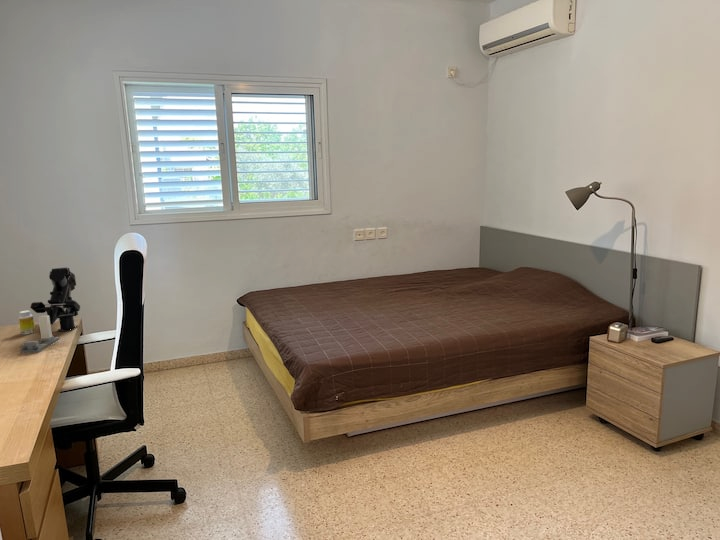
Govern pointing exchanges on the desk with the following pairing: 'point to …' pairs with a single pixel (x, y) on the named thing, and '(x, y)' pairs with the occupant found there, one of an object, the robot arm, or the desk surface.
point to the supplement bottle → (26, 322)
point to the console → (37, 345)
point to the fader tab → (45, 328)
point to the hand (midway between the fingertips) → (51, 324)
